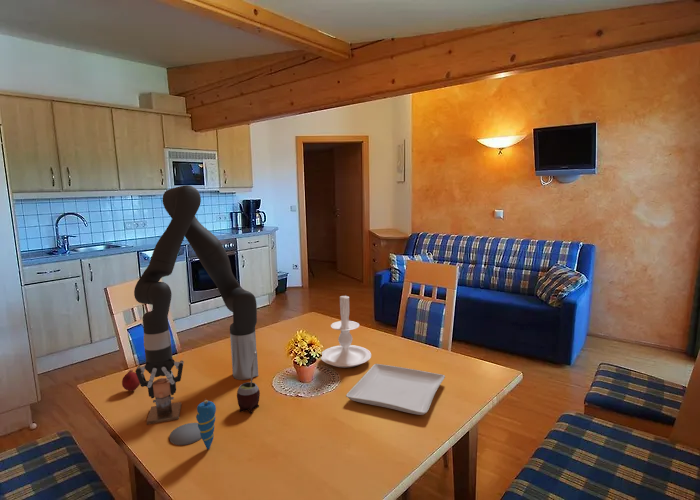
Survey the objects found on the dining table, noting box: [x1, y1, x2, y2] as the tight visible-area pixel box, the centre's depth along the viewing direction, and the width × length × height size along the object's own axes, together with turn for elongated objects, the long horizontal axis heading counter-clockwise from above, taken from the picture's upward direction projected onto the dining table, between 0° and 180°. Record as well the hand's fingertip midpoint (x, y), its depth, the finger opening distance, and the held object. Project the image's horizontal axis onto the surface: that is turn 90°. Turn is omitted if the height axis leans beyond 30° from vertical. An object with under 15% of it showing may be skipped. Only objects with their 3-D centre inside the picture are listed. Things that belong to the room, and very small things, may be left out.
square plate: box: [345, 363, 446, 416], centre depth 142 cm, size 27×27×4 cm
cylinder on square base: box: [146, 394, 182, 425], centre depth 132 cm, size 9×9×7 cm
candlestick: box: [320, 295, 372, 368], centre depth 168 cm, size 21×25×28 cm
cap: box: [153, 377, 171, 398], centre depth 131 cm, size 5×7×5 cm
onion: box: [121, 369, 141, 392], centre depth 147 cm, size 6×6×8 cm
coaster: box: [169, 422, 202, 446], centre depth 121 cm, size 10×10×1 cm
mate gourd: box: [236, 358, 261, 415], centre depth 134 cm, size 8×8×15 cm
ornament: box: [195, 398, 217, 450], centre depth 113 cm, size 5×5×15 cm
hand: (162, 395), depth 131 cm, fingers closed on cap, 5 cm apart
